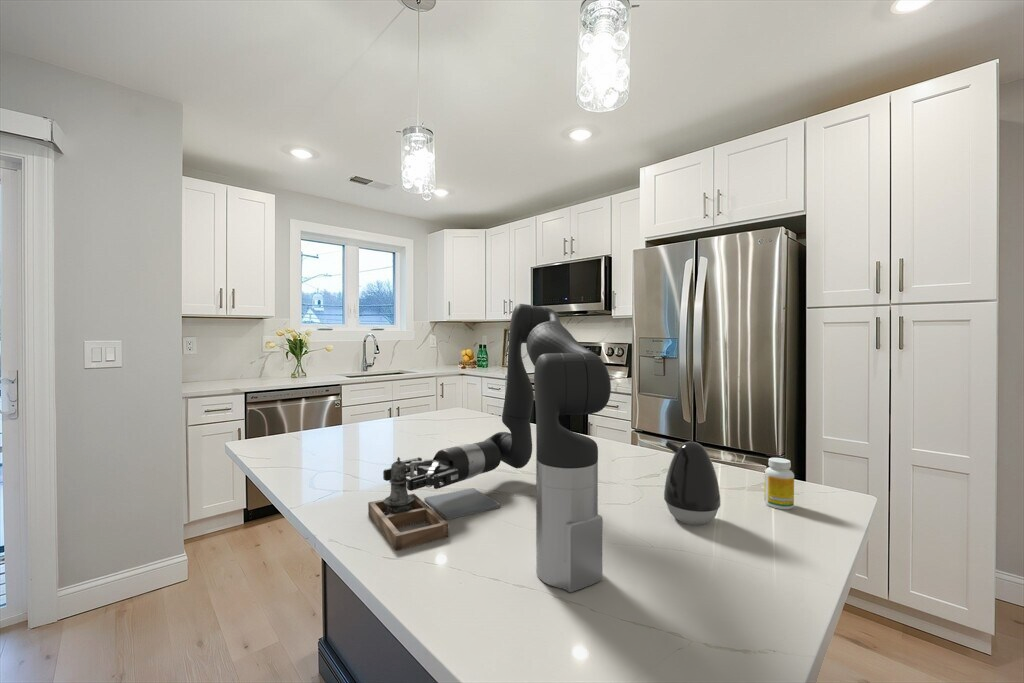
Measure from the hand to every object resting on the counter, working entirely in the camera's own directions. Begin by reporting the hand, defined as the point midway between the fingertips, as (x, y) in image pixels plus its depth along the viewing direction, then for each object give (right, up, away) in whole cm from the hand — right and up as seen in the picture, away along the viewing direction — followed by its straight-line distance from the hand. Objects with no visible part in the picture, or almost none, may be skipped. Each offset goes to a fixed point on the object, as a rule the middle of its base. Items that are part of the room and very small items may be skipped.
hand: (395, 480), depth 90 cm
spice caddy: (+3, -8, -3) cm, 9 cm away
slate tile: (+12, -7, +8) cm, 16 cm away
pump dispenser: (+58, -8, -1) cm, 58 cm away
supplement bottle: (+79, -7, +7) cm, 80 cm away
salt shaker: (+1, -8, +1) cm, 8 cm away
